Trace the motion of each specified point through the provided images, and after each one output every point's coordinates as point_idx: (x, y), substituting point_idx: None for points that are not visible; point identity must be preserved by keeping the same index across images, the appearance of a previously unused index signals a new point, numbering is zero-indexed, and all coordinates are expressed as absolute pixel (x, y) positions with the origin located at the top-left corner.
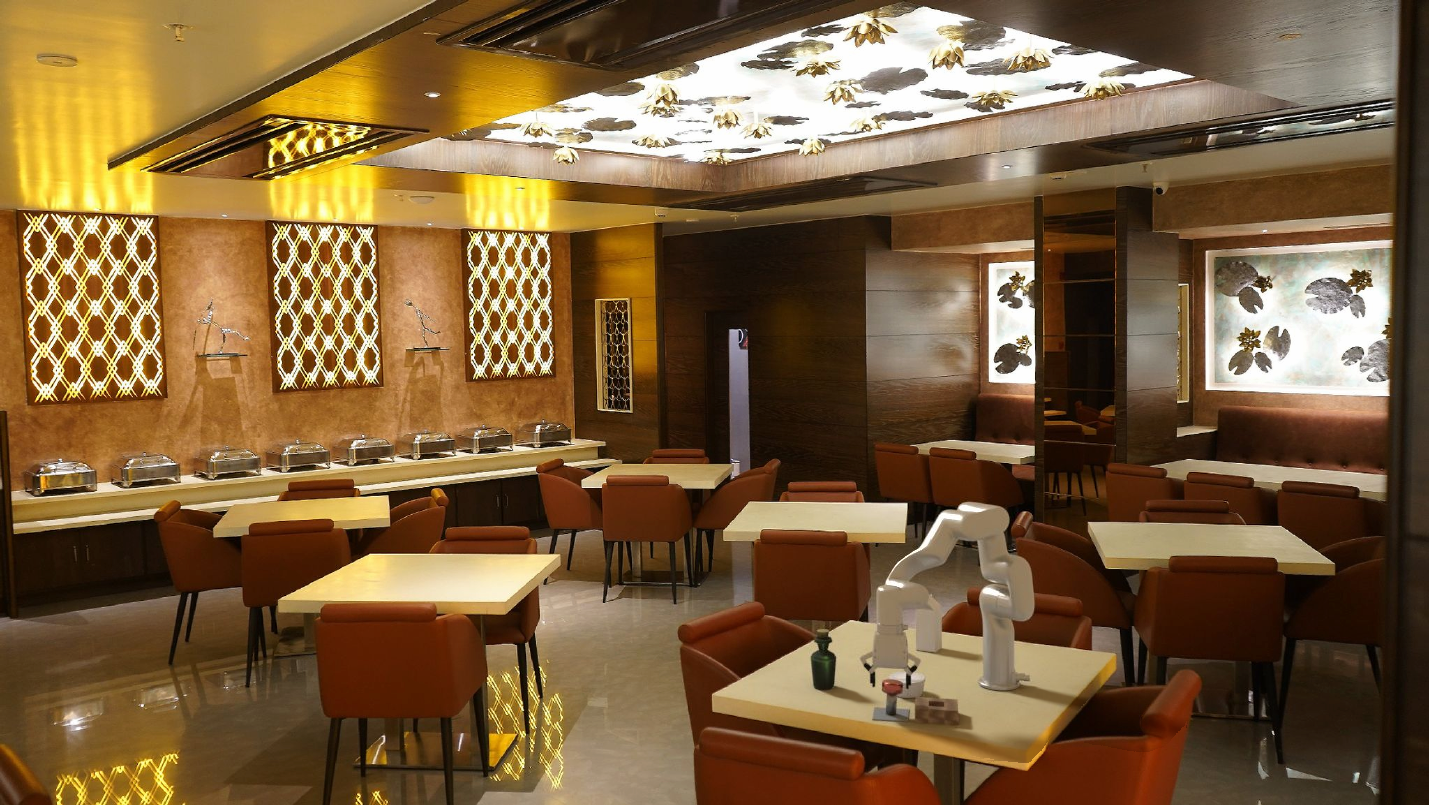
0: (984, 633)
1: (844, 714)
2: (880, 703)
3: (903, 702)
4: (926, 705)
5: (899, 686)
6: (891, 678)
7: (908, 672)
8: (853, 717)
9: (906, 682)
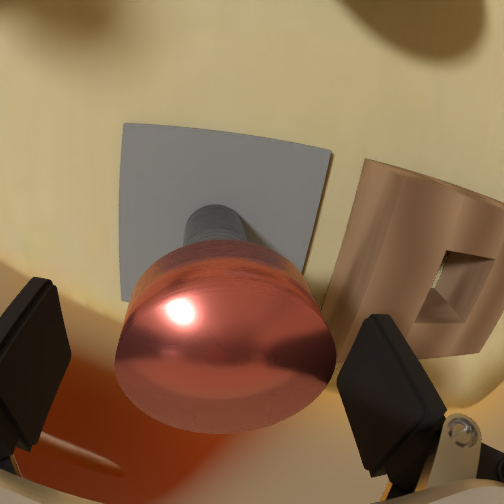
0: None
1: (5, 231)
2: (168, 32)
3: (317, 17)
4: (408, 318)
5: (282, 420)
6: None
7: (403, 490)
8: (42, 265)
9: (354, 424)
